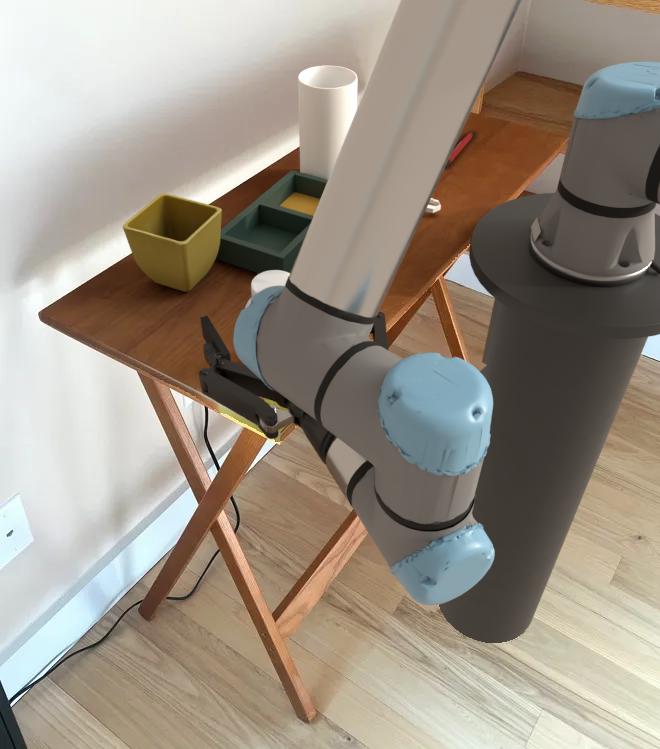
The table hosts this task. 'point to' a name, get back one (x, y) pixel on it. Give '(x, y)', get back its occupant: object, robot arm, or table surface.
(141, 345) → the table surface
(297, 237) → the tray
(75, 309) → the table surface
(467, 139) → the red marker pen
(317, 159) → the cup
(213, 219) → the flower pot
